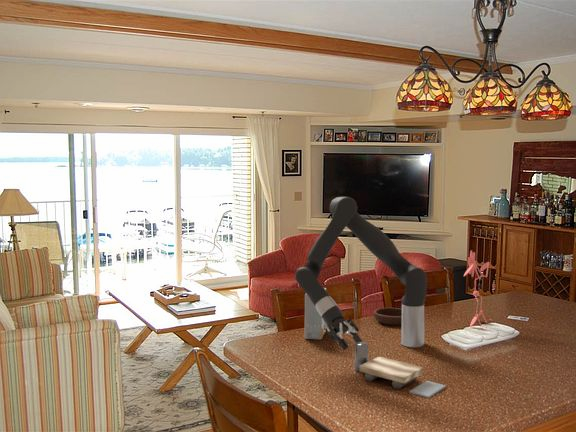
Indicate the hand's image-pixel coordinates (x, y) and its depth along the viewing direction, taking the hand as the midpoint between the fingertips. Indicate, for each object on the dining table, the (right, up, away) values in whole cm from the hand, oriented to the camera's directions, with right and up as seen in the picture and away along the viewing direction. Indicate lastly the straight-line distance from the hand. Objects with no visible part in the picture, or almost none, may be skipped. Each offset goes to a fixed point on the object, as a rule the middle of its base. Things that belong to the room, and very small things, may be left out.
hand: (353, 346), depth 217 cm
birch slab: (+12, -9, -12) cm, 19 cm away
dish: (+26, -3, +63) cm, 68 cm away
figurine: (+61, -3, +58) cm, 85 cm away
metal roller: (+3, -9, -2) cm, 9 cm away
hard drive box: (-12, -5, +43) cm, 45 cm away
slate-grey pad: (+23, -10, -21) cm, 32 cm away
